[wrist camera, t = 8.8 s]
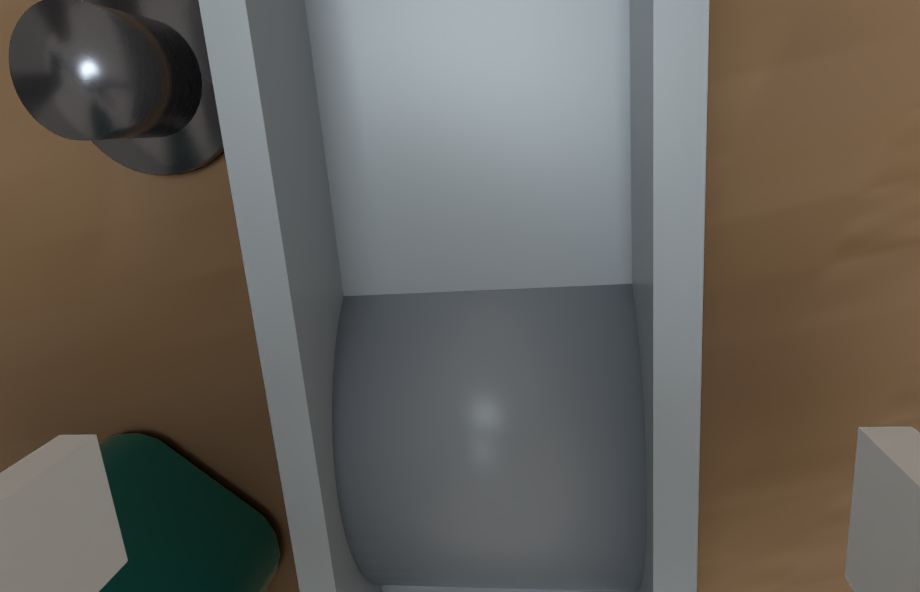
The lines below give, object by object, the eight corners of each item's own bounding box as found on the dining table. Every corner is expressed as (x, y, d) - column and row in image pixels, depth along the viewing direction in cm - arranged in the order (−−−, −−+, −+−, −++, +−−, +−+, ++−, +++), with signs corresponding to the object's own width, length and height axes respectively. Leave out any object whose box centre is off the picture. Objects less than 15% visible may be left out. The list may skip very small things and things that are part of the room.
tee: (97, 179, 22) (1, 191, 18) (55, -10, 20) (-60, -40, 16) (260, 167, 21) (196, 177, 17) (229, -32, 19) (151, -70, 15)
